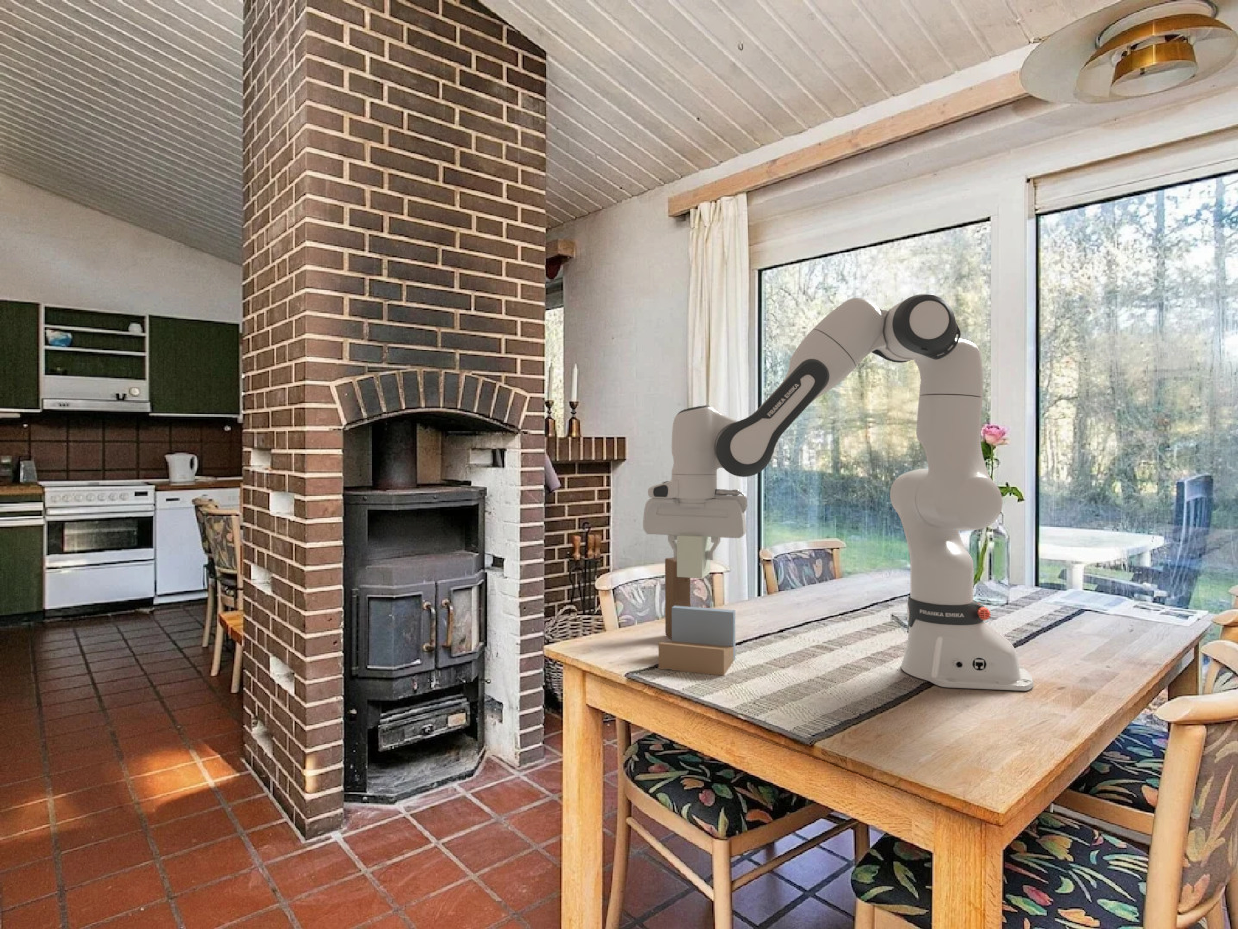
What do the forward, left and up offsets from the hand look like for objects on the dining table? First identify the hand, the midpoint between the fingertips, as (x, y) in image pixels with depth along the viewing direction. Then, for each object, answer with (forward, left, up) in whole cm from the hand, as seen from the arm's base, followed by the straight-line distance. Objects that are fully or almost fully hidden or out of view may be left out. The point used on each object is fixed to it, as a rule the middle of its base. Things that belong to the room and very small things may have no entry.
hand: (694, 558), depth 142 cm
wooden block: (+7, -19, -22) cm, 30 cm away
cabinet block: (0, 0, -3) cm, 3 cm away
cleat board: (0, -3, -22) cm, 22 cm away
